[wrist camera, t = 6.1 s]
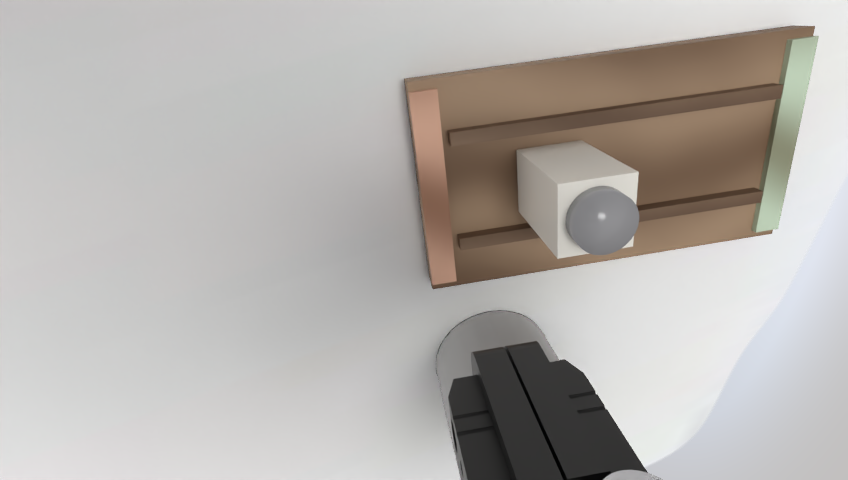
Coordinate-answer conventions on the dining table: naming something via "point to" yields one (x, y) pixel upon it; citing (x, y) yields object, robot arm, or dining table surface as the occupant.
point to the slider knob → (577, 198)
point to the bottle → (482, 345)
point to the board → (611, 144)
